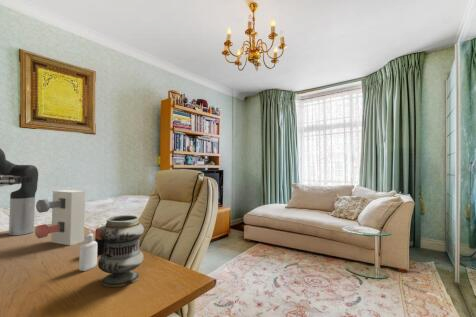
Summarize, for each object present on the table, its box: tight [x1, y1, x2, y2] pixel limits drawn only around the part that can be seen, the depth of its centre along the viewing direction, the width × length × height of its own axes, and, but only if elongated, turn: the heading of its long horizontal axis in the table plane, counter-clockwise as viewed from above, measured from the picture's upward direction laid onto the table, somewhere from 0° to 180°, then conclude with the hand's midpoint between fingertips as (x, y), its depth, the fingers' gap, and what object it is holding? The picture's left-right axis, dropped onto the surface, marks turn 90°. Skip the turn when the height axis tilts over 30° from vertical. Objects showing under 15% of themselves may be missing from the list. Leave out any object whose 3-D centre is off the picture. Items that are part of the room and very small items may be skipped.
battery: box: [94, 225, 105, 256], centre depth 95 cm, size 4×7×10 cm, turn 138°
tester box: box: [50, 189, 86, 246], centre depth 107 cm, size 6×12×22 cm, turn 69°
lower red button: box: [34, 224, 60, 239], centre depth 100 cm, size 7×5×5 cm
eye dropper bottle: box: [78, 230, 98, 272], centre depth 80 cm, size 4×6×12 cm
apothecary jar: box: [97, 214, 145, 288], centre depth 72 cm, size 12×12×18 cm
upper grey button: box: [35, 198, 60, 214], centre depth 100 cm, size 7×5×5 cm
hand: (30, 179), depth 94 cm, fingers closed
